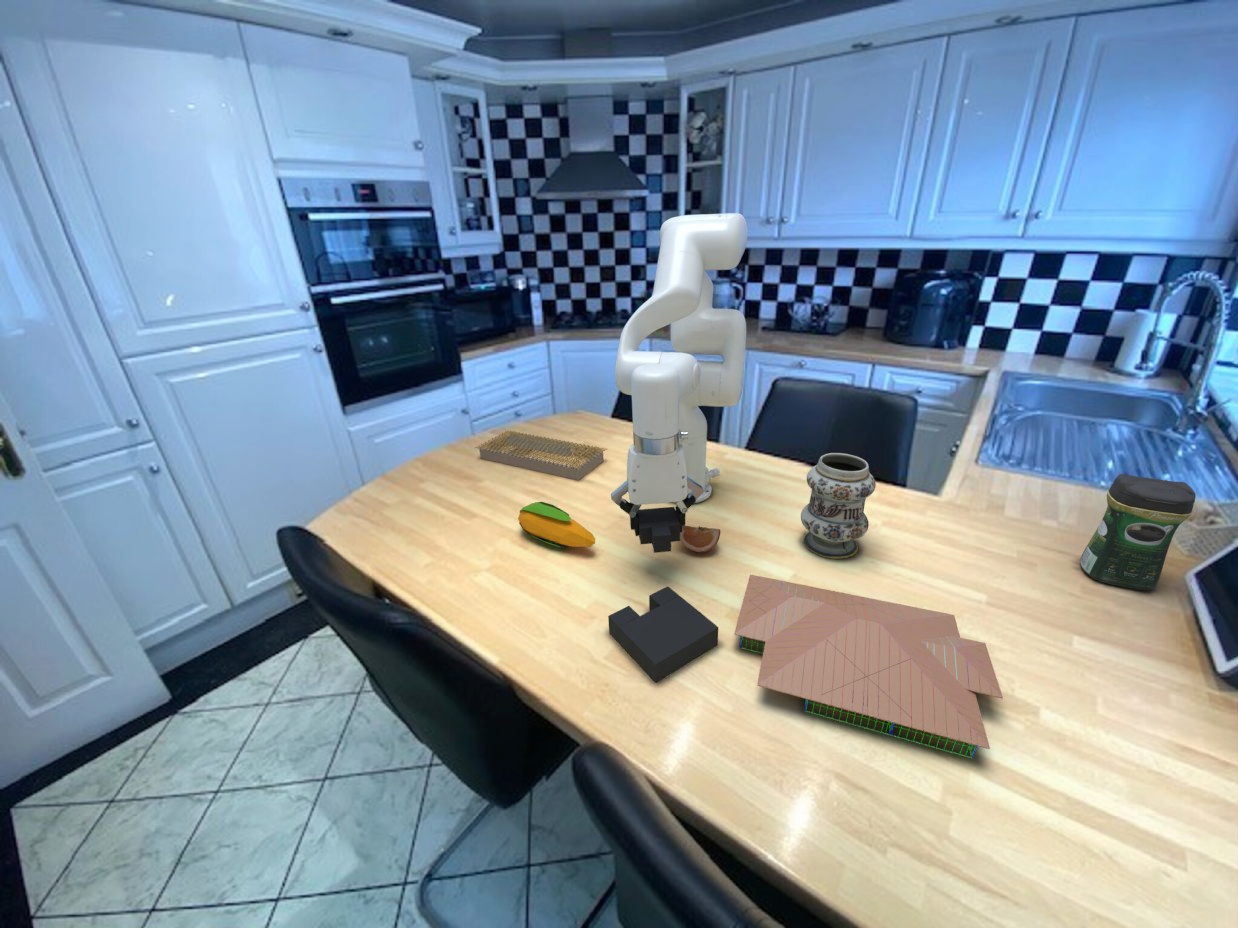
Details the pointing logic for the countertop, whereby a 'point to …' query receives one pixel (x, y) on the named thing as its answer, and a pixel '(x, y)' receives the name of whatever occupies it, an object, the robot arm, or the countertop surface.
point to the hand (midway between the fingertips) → (657, 529)
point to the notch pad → (663, 633)
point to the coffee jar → (1137, 531)
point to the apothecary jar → (837, 505)
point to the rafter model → (542, 444)
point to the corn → (553, 526)
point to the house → (869, 659)
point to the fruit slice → (699, 538)
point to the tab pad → (659, 528)
